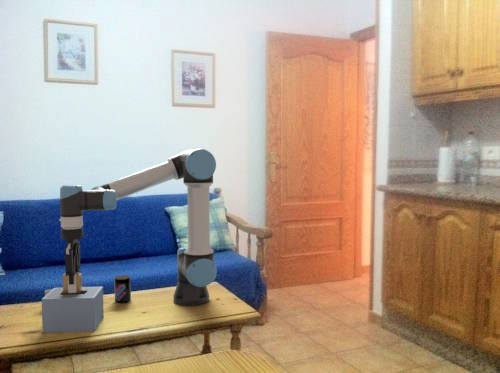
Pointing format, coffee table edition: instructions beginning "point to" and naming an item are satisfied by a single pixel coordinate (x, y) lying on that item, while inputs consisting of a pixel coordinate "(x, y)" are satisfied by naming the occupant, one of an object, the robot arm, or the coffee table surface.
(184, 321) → the coffee table surface
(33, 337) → the coffee table surface
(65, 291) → the tan flat block
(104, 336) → the coffee table surface
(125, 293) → the supplement container
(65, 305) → the coin box
